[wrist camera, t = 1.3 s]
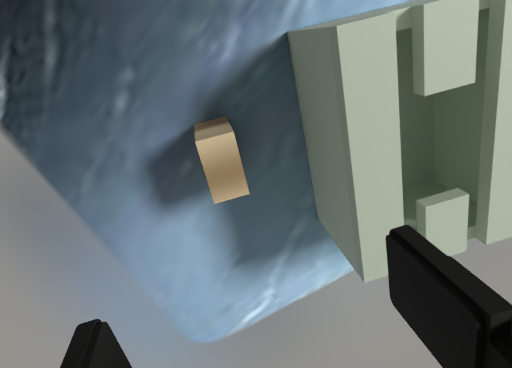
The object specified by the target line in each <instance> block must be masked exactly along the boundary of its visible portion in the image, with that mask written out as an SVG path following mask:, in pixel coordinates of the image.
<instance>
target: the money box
mask: <svg viewBox="0 0 512 368" xmlns="http://www.w3.org/2000/svg"><path fill="white" fill-rule="evenodd" d="M287 36H288V42H289V48H290V54H291V60H292V66H293V72H294V78H295V84H296V90H297V96H298V102H299V108H300V114H301V120H302V126H303V132H304V138H305V144H306V150H307V156H308V162H309V168H310V174H311V180H312V186H313V192H314V198H315V204H316V210H317V216H318V220H319V221H320V223H321V224H322V225H323V227H324V228H325V230H326V231H327V232H328V234H329V235H330V236H331V238H332V239H333V241H334V242H335V243H336V245H337V246H338V247H339V249H340V250H341V251H342V253H343V254H344V256H345V257H346V258H347V260H348V261H349V262H350V264H351V265H352V266H353V268H354V269H355V271H356V272H357V273H358V274H359V276H360V277H361V278H362V280H363V282H364V283H366V282H369V281H372V280H376V279H379V278H382V277H385V276H388V264H387V251H386V236H387V235H389V232H390V230H391V229H393V228H397V227H400V226H403V225H409V226H411V227H412V228H413V229H415V230H416V231H417V232H418V233H420V234H421V235H422V236H423V237H425V238H426V239H427V240H428V241H430V242H431V243H432V244H433V245H434V246H436V247H437V248H438V249H439V250H441V251H442V252H443V253H444V254H446V255H447V256H452V255H455V254H458V253H462V252H465V251H466V248H467V240H468V239H471V238H474V237H475V238H477V239H478V240H480V241H481V242H483V243H484V244H486V245H487V244H490V243H494V242H497V241H500V240H503V239H506V238H509V237H512V0H413V1H409V2H405V3H401V4H397V5H393V6H389V7H385V8H381V9H377V10H373V11H369V12H365V13H361V14H357V15H353V16H349V17H345V18H341V19H336V20H332V21H328V22H324V23H320V24H316V25H312V26H308V27H304V28H300V29H296V30H292V31H288V32H287Z"/></svg>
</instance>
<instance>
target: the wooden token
mask: <svg viewBox="0 0 512 368" xmlns="http://www.w3.org/2000/svg"><path fill="white" fill-rule="evenodd" d="M194 131H195V143H196V146H197V150H198V153H199V156H200V159H201V163H202V166H203V169H204V172H205V175H206V179H207V182H208V185H209V188H210V192H211V195H212V198H213V201H214V204H216V203H219V202H223V201H227V200H230V199H234V198H237V197H241V196H244V195H248V194H250V193H249V189H248V185H247V181H246V178H245V174H244V170H243V166H242V162H241V158H240V154H239V150H238V146H237V142H236V139H235V135H234V131H233V129H232V127H231V125H230V123H229V121H228V119H227V117H226V116H225V117H221V118H217V119H213V120H209V121H206V122H202V123H198V124H194Z"/></svg>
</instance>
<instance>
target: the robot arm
mask: <svg viewBox="0 0 512 368" xmlns="http://www.w3.org/2000/svg"><path fill="white" fill-rule="evenodd" d="M386 251H387V264H388V277H389V290H390V298H391V301H392V303H393V305H394V307H395V308H396V309H397V310H398V312H399V313H400V314H401V315H402V317H403V318H404V319H405V321H406V322H407V323H408V324H409V326H410V327H411V328H412V329H413V331H414V332H415V333H416V334H417V336H418V337H419V338H420V339H421V341H422V342H423V343H424V345H425V346H426V347H427V348H428V350H429V351H430V352H431V353H432V355H433V356H434V357H435V358H436V360H437V361H438V362H439V363H440V365H441V366H442V367H443V368H512V305H511V304H510V303H509V302H507V301H506V300H505V299H504V298H502V297H501V296H500V295H499V294H497V293H496V292H495V291H494V290H492V289H491V288H490V287H489V286H487V285H486V284H485V283H484V282H482V281H481V280H480V279H479V278H477V277H476V276H475V275H474V274H472V273H471V272H470V271H469V270H467V269H466V268H465V267H463V266H462V265H461V264H460V263H459V262H457V261H456V260H455V259H453V258H452V257H450V256H447V255H446V254H444V253H443V252H442V251H441V250H439V249H438V248H437V247H436V246H434V245H433V244H432V243H431V242H430V241H428V240H427V239H426V238H425V237H423V236H422V235H421V234H420V233H418V232H417V231H416V230H415V229H413V228H412V227H411V226H409V225H403V226H400V227H397V228H393V229H391V230H390V232H389V235H387V236H386ZM60 368H132V367H131V365H130V363H129V361H128V359H127V357H126V356H125V354H124V352H123V350H122V348H121V347H120V345H119V343H118V341H117V339H116V337H115V336H114V334H113V332H112V330H111V328H110V327H109V325H108V323H107V322H101V320H99V319H95V320H92V321H89V322H85V323H82V324H79V325H78V326H77V328H76V330H75V332H74V335H73V337H72V340H71V342H70V344H69V347H68V350H67V352H66V355H65V357H64V359H63V362H62V364H61V367H60Z"/></svg>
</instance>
